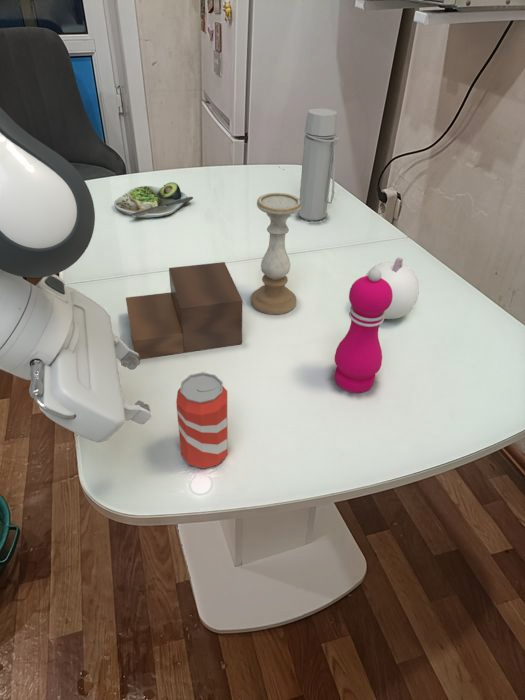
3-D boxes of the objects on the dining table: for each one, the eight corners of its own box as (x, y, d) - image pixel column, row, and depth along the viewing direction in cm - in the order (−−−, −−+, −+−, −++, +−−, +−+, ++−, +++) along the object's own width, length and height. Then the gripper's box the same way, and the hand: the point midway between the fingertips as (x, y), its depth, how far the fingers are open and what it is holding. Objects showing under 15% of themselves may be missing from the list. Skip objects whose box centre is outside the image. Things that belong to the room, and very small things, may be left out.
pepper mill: (356, 402, 77) (380, 289, 65) (321, 377, 82) (338, 267, 69) (386, 382, 81) (413, 272, 69) (351, 359, 85) (371, 251, 73)
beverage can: (234, 463, 67) (234, 397, 60) (186, 476, 66) (181, 409, 58) (221, 431, 72) (220, 365, 64) (176, 441, 70) (169, 375, 62)
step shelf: (135, 360, 83) (128, 314, 78) (128, 316, 93) (121, 272, 87) (242, 344, 88) (242, 300, 82) (224, 303, 97) (224, 261, 92)
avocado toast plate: (163, 229, 122) (161, 210, 119) (99, 216, 126) (96, 198, 123) (199, 200, 136) (198, 183, 133) (140, 189, 140) (138, 172, 137)
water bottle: (291, 216, 130) (299, 111, 115) (309, 208, 135) (319, 105, 119) (320, 227, 125) (332, 119, 110) (338, 218, 130) (352, 113, 115)
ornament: (409, 334, 92) (425, 276, 84) (353, 323, 94) (363, 265, 86) (413, 304, 100) (428, 249, 92) (361, 294, 102) (371, 239, 94)
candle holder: (262, 319, 94) (267, 214, 81) (243, 295, 100) (245, 194, 87) (304, 309, 97) (315, 206, 84) (283, 286, 103) (290, 188, 90)
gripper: (51, 380, 43) (174, 435, 52) (51, 264, 58) (147, 321, 67) (8, 427, 45) (135, 472, 53) (19, 302, 60) (116, 353, 68)
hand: (141, 387), depth 60 cm, fingers open, 8 cm apart
